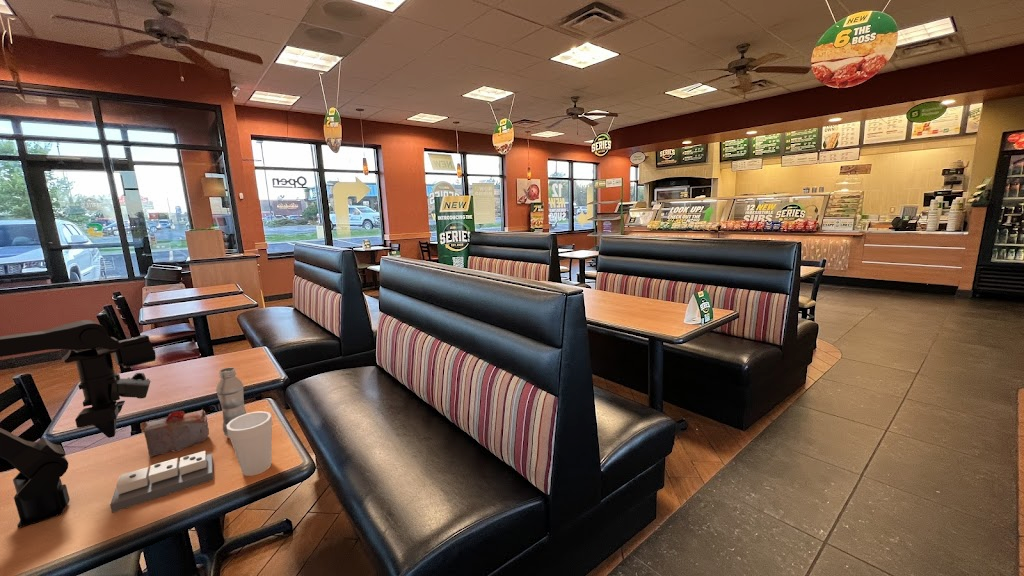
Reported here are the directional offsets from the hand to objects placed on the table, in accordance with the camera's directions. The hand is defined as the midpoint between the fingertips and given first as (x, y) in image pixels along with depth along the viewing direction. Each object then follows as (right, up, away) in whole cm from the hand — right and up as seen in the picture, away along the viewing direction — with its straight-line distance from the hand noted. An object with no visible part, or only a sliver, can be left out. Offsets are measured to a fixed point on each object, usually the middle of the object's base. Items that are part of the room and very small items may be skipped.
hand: (111, 436), depth 98 cm
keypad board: (+12, -12, +1) cm, 17 cm away
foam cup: (+30, -10, +7) cm, 33 cm away
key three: (+17, -9, +4) cm, 19 cm away
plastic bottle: (+15, -8, +22) cm, 28 cm away
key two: (+12, -9, +1) cm, 15 cm away
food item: (+2, -9, +18) cm, 20 cm away
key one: (+8, -10, -3) cm, 13 cm away
